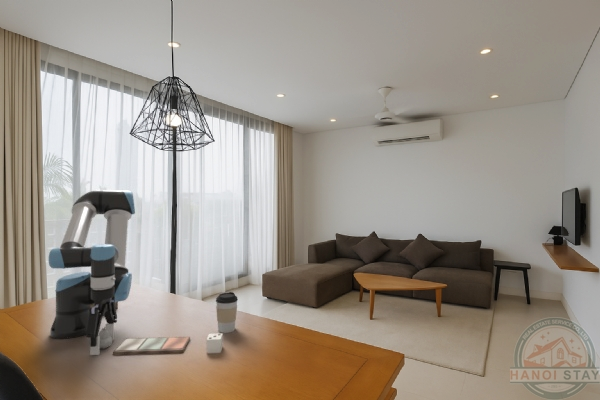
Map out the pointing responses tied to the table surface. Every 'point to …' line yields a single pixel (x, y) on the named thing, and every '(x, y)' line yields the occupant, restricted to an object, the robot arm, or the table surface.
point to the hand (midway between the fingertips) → (102, 347)
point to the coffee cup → (226, 312)
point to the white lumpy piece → (104, 338)
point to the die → (214, 343)
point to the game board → (152, 345)
